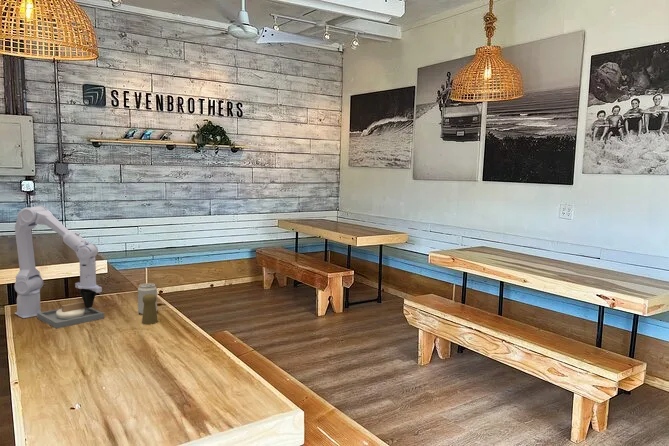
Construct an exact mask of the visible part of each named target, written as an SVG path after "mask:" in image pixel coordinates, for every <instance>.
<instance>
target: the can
mask: <svg viewBox="0 0 669 446" xmlns="http://www.w3.org/2000/svg"><path fill="white" fill-rule="evenodd" d="M138 286H139V287H138V288H137V312H138V313H139V314H141V315H143V309H144V303H143V296H144V295H147V294H154V295H155V296H156V298H157V300H156V302H155V305H156V312H157V311H158V287H156V284H155V283H152V282H149V283H141V284H139V285H138Z"/></svg>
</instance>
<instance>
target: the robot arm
mask: <svg viewBox="0 0 669 446" xmlns="http://www.w3.org/2000/svg"><path fill="white" fill-rule="evenodd" d="M16 215H17V219H16V222H15V224H14V233H15V239H16V240H15V241H16V247H17V248H16V249H17V257H18V266H19V267H18V268H19V270H18V273H17V274H16V276H15V283H14V286H13V287H14V290H15V292H16V293H17V296H16V312H14V314H15V315H16V316H18V317H20V318H22V319H28V318H32V317H37V313H40V312H42V309H41V289H42V287H43V286H44V279H43V277H42V275H41V272H40V270H38V269H37V267H36V260H35V259H36V258H35V250H34V249H35V248H34V242H33V234H32V230H33V229H34V228H35V227H36V226H37V225H44V226H47V227H48V228H49V229H51V230H52V231H54V232H55V233H56V234H57V235H59V236H60V237H62V241H63V244H65V245H66V246H68V247H69V248H70V249H71V250H72V251H74V252H75V255H76V257H77V259H78V261H79V281H77V282H75V283H74V285H75V288H76V289H79V291H78V294H79V295H80V296H81V298H82V302H83V301H84V304H85V307H86V308H93V306H94V301H95V298H96V296H97V294H99V293H102V292H103V289H102V286H99V285H98V283H97V270H96V269H97V266H96V263H97V262H96V256H97V255H98V254H99V249H98V246H96V244H95V243H92V242H89V241H88V240H86V239H84V238H83V237H82V236H81V235H80V233H79V232H78V231H74V230H71V231H70V230H69V229H68V227H66V226H65V225H64V224H63V223H62V222H61V221H60V220H58V218H56V217H55V216H54V215H53V213H52V211H50V210H48V209H47V208H46V206H43V205H37V206H33V207H32V206H31V207H24V208H22V209H20V211H19V212H17V214H16Z"/></svg>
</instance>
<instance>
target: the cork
mask: <svg viewBox="0 0 669 446" xmlns="http://www.w3.org/2000/svg"><path fill="white" fill-rule="evenodd" d="M156 300H157V301H158V297H157V298H156V296H155V295H154V294H147V295H144V296H143V303H144V309H143V314H142V318H141V324H143V325H155V324H157V323H159V319H158V312H157V311H156V305H155V302H156Z"/></svg>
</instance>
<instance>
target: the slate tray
mask: <svg viewBox="0 0 669 446" xmlns="http://www.w3.org/2000/svg"><path fill="white" fill-rule="evenodd" d="M59 309H62V307H61V308H57V309H56V308H55V309H52V310H46V311H41V312H40V313H37V316H36V318H37V320H39V321H41V322H43V323H45V324H47V325H49V326H51V327H53V328H54V329H61V328H67V327H70V326H75V325H80V324H85V323H88V322H93V321H97V320H102V319H105V313H104V312H103V311H100V310H98V309H96V308H94V307H91V308H85V315H83V316H81V317H78V318H72V319H59V318H57V317H56V311H57V310H59Z"/></svg>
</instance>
